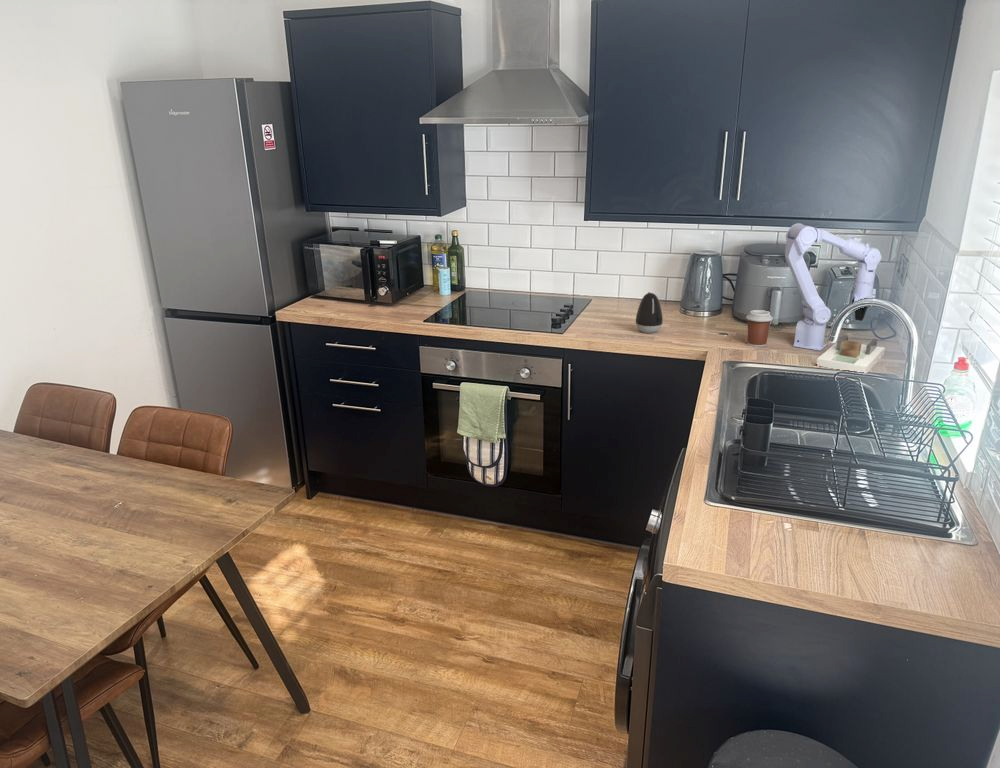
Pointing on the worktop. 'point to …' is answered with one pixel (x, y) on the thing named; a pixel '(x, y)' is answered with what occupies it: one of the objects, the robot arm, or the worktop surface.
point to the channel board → (850, 359)
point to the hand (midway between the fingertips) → (859, 320)
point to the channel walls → (869, 348)
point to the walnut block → (850, 349)
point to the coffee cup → (758, 327)
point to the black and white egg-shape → (649, 314)
